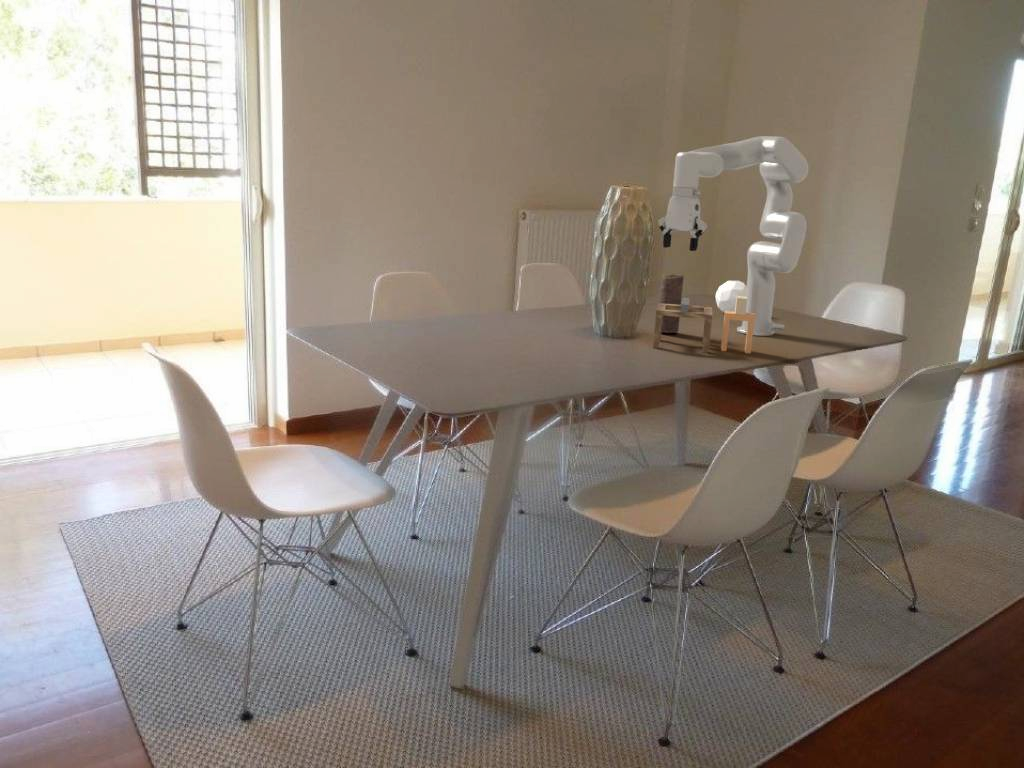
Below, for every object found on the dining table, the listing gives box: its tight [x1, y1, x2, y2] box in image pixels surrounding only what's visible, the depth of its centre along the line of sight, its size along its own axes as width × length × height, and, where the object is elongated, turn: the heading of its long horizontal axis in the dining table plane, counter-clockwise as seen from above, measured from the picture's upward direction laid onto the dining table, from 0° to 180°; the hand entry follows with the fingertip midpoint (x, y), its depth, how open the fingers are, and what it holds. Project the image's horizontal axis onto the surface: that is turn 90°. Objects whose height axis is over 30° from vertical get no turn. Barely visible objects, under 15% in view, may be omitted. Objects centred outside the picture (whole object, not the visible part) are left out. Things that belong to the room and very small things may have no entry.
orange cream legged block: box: [720, 296, 755, 354], centre depth 273 cm, size 9×5×17 cm, turn 78°
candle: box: [659, 274, 684, 334], centre depth 295 cm, size 8×7×20 cm
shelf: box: [652, 303, 714, 354], centre depth 277 cm, size 17×14×12 cm
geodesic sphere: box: [715, 279, 747, 314], centre depth 340 cm, size 14×14×14 cm
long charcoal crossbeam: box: [680, 297, 691, 313], centre depth 275 cm, size 2×14×2 cm, turn 168°
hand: (679, 248), depth 275 cm, fingers open, 9 cm apart
